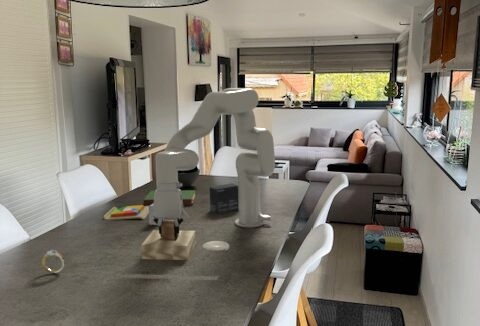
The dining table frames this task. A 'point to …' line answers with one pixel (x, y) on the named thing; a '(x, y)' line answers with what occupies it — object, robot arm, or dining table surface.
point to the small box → (224, 198)
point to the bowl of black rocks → (188, 176)
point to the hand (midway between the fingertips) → (169, 235)
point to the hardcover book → (186, 197)
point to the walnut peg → (168, 230)
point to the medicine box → (150, 213)
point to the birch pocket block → (168, 246)
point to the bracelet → (53, 252)
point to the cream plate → (216, 246)
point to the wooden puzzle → (127, 212)
